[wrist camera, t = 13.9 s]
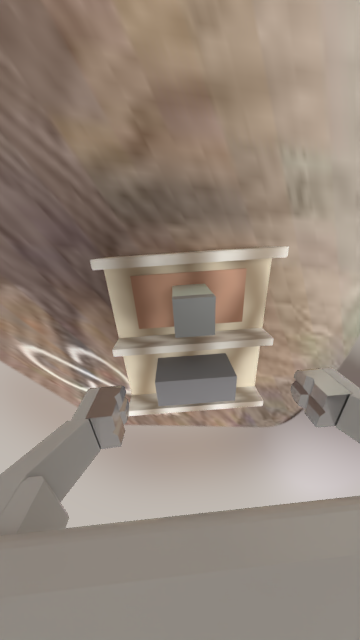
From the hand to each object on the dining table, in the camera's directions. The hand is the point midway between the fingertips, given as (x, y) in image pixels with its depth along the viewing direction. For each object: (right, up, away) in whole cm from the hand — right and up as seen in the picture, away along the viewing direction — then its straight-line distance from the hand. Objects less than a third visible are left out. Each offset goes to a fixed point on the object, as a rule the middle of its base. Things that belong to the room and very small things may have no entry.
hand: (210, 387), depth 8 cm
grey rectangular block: (0, +6, +14) cm, 15 cm away
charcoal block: (0, -4, +18) cm, 19 cm away
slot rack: (0, +1, +17) cm, 17 cm away
